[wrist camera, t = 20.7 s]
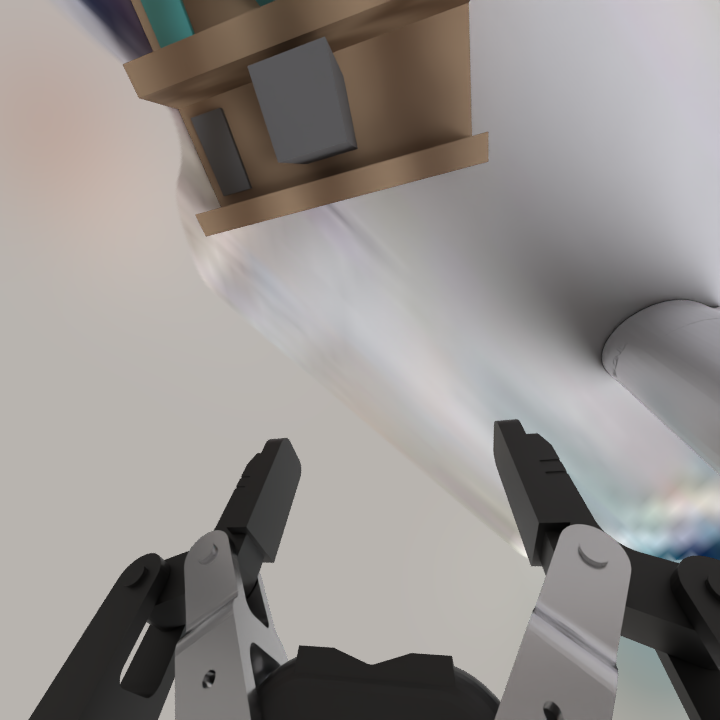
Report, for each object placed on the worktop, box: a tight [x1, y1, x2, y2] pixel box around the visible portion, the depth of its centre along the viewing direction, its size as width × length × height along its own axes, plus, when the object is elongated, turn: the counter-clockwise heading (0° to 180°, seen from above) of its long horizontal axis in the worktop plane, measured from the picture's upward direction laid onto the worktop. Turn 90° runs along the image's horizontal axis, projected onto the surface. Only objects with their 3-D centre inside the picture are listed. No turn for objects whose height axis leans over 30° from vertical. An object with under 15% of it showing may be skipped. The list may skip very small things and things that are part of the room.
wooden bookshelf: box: [123, 0, 488, 236], centre depth 17 cm, size 20×18×5 cm
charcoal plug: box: [247, 36, 358, 164], centre depth 18 cm, size 4×4×7 cm
